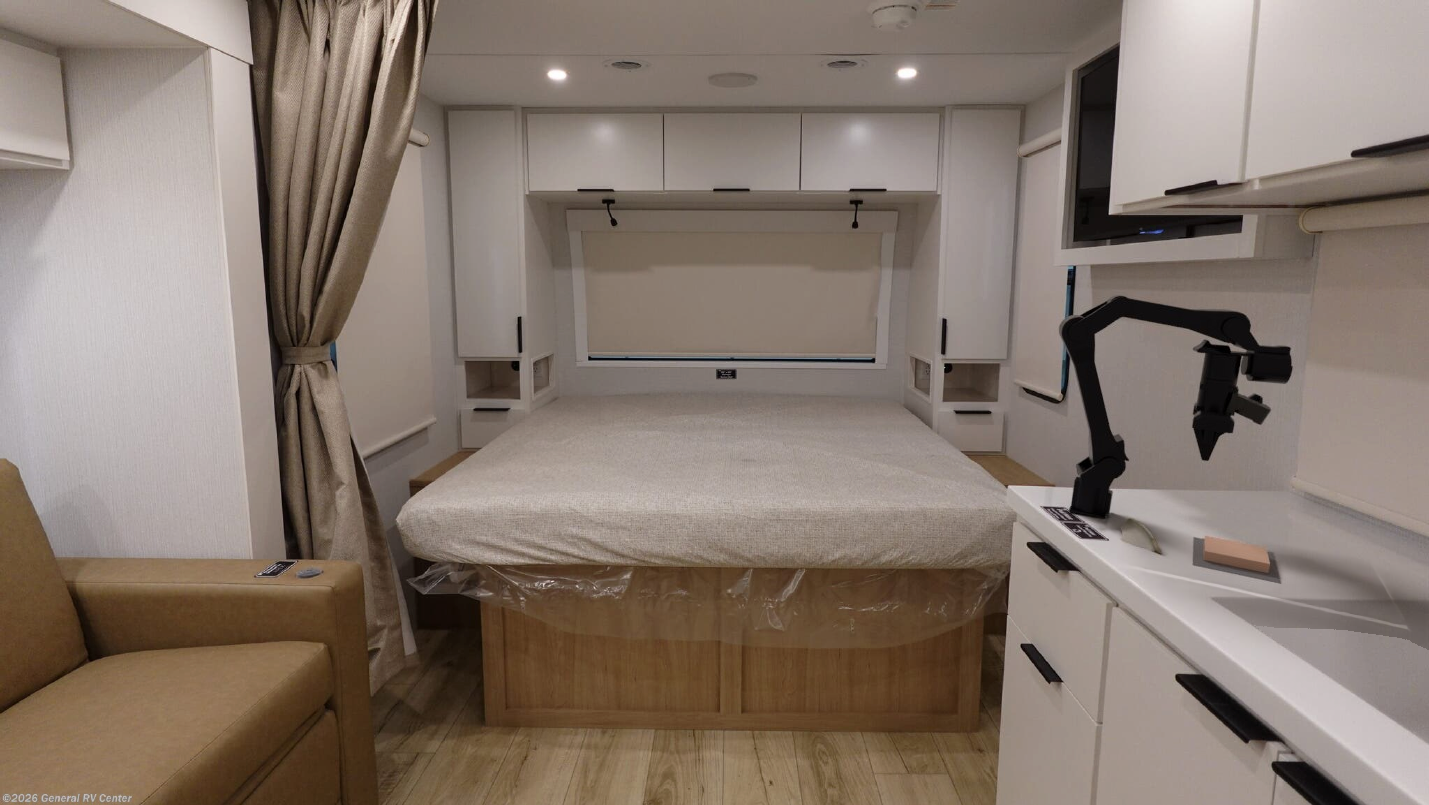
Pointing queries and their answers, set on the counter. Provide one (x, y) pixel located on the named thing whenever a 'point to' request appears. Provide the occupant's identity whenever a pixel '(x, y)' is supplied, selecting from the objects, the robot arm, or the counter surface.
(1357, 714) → the counter surface
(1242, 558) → the tile
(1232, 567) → the mat
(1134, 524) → the ceramic fragment
